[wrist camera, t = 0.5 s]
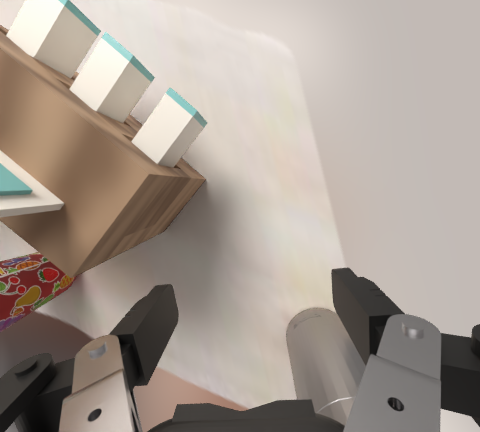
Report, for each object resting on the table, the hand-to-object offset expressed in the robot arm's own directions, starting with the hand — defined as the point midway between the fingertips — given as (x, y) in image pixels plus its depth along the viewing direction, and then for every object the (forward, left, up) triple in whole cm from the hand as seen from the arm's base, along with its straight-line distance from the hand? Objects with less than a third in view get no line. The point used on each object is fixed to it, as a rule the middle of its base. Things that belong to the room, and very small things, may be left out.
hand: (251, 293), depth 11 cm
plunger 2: (+19, +5, -13) cm, 24 cm away
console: (+17, +11, -21) cm, 30 cm away
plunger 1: (+26, +7, -13) cm, 30 cm away
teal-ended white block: (+13, +3, -13) cm, 19 cm away
